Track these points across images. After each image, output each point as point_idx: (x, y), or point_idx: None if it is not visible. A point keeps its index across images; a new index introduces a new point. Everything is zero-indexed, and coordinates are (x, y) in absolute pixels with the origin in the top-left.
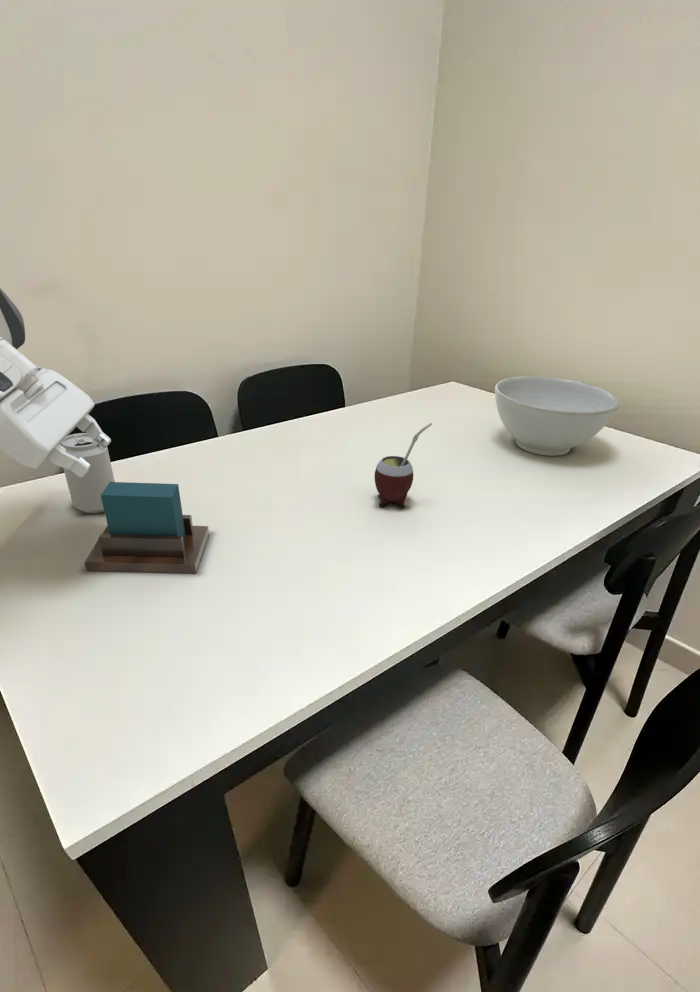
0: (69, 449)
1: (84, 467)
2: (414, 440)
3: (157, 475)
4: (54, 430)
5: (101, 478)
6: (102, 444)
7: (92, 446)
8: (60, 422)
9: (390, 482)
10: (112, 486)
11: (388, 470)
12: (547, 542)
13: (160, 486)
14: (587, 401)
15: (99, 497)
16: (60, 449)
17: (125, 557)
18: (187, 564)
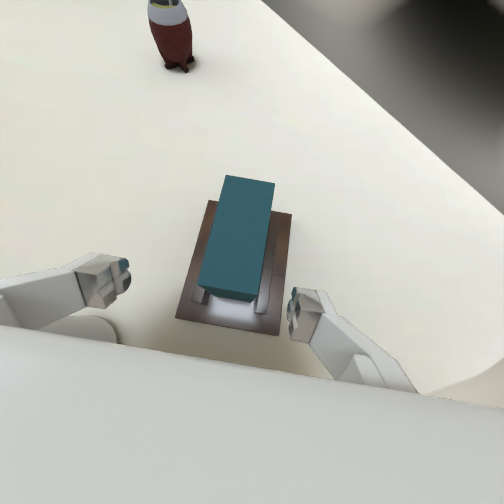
0: None
1: (328, 297)
2: None
3: (7, 267)
4: (397, 458)
5: (71, 332)
6: (118, 277)
7: None
8: (229, 447)
9: (187, 30)
10: (221, 276)
11: (179, 14)
12: (262, 12)
13: (232, 198)
14: None
15: (102, 339)
16: (393, 376)
17: (271, 285)
18: (290, 220)
